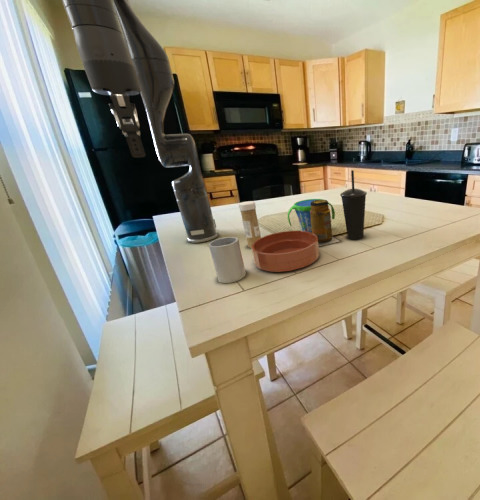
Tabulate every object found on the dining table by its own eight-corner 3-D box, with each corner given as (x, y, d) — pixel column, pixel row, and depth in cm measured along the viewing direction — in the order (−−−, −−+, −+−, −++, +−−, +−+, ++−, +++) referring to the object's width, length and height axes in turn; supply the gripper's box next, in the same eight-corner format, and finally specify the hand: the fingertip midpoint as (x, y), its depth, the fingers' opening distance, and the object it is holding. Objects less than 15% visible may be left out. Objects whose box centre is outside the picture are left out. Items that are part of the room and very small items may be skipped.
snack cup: (290, 240, 86) (285, 208, 82) (289, 230, 95) (285, 201, 92) (338, 234, 88) (336, 203, 84) (333, 224, 97) (331, 196, 93)
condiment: (328, 234, 88) (325, 197, 84) (340, 241, 81) (337, 202, 77) (307, 239, 86) (302, 201, 81) (317, 247, 78) (313, 206, 74)
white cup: (222, 271, 68) (214, 238, 64) (248, 269, 68) (240, 235, 64) (214, 284, 62) (204, 247, 58) (242, 281, 62) (234, 245, 59)
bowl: (261, 249, 80) (258, 233, 78) (318, 244, 81) (317, 228, 79) (248, 276, 64) (244, 257, 62) (320, 269, 65) (318, 250, 63)
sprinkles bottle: (264, 245, 83) (256, 202, 78) (250, 249, 80) (241, 205, 75) (259, 241, 86) (251, 199, 81) (245, 245, 84) (236, 202, 79)
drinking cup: (339, 240, 82) (334, 172, 74) (347, 232, 88) (344, 169, 81) (363, 242, 79) (361, 171, 72) (370, 233, 86) (369, 168, 78)
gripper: (132, 54, 46) (162, 155, 52) (133, 73, 57) (158, 155, 63) (74, 49, 42) (114, 159, 48) (87, 71, 53) (118, 158, 59)
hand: (139, 157), depth 55 cm, fingers open, 8 cm apart
